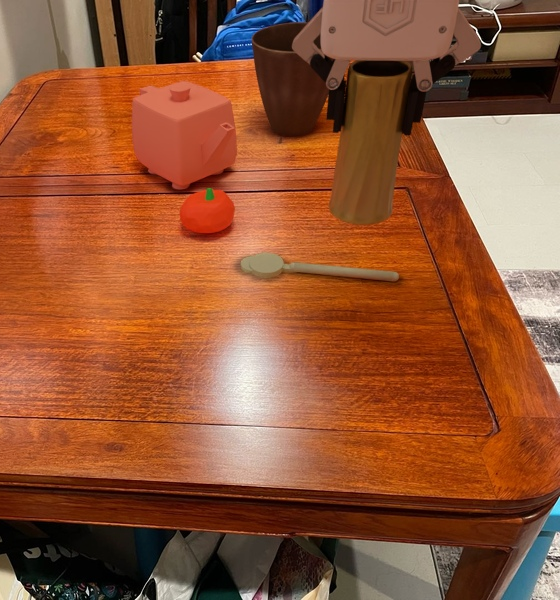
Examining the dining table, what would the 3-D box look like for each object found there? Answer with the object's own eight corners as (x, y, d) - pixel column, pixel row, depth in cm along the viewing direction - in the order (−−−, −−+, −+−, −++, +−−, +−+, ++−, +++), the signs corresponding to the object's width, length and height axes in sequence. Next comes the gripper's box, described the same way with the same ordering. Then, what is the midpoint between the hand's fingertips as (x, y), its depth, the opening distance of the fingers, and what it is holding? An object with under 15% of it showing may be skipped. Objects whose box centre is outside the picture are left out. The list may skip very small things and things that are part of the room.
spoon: (398, 270, 78) (399, 262, 77) (398, 292, 74) (399, 284, 74) (243, 255, 83) (243, 248, 82) (237, 275, 79) (237, 268, 79)
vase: (327, 193, 65) (341, 55, 56) (389, 195, 64) (413, 53, 55) (329, 225, 60) (345, 80, 51) (395, 227, 59) (423, 78, 50)
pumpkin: (172, 222, 90) (169, 183, 86) (223, 209, 92) (222, 170, 88) (190, 248, 85) (188, 207, 81) (244, 233, 87) (244, 193, 82)
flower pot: (353, 128, 109) (365, 33, 99) (292, 155, 103) (298, 58, 93) (292, 105, 119) (297, 16, 109) (233, 129, 113) (232, 38, 103)
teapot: (261, 182, 97) (263, 93, 88) (197, 211, 92) (192, 120, 83) (178, 138, 112) (173, 59, 103) (119, 161, 107) (108, 80, 98)
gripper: (279, -92, 45) (271, 142, 56) (545, -107, 40) (477, 151, 52) (290, -108, 50) (281, 108, 62) (526, -122, 46) (469, 114, 57)
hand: (371, 126), depth 57 cm, fingers closed on vase, 5 cm apart
